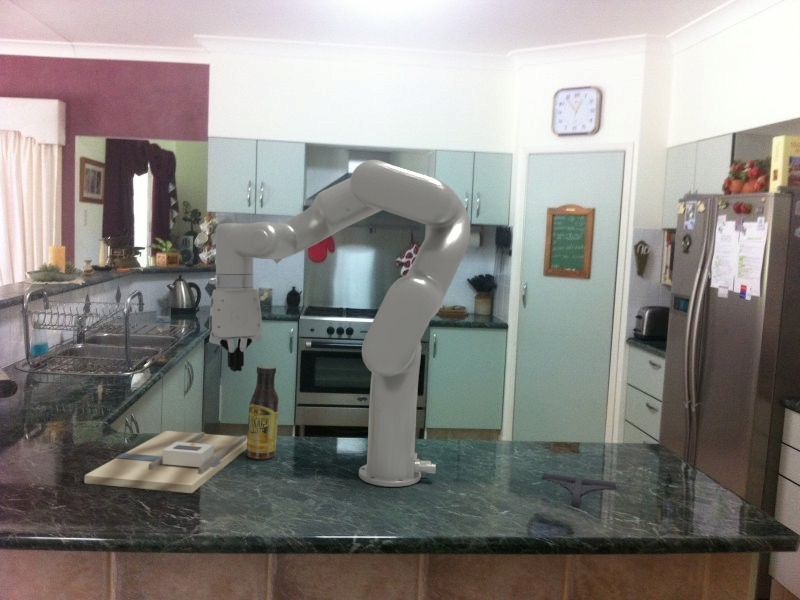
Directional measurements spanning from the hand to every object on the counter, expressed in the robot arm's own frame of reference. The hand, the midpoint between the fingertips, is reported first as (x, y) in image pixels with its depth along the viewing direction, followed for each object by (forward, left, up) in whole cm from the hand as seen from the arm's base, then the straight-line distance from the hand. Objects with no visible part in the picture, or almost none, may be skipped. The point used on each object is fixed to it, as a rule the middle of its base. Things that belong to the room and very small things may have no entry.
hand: (235, 370), depth 141 cm
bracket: (-71, +2, -20) cm, 74 cm away
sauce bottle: (-5, -4, -20) cm, 21 cm away
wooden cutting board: (+11, +4, -19) cm, 22 cm away
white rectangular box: (+6, +8, -17) cm, 20 cm away
